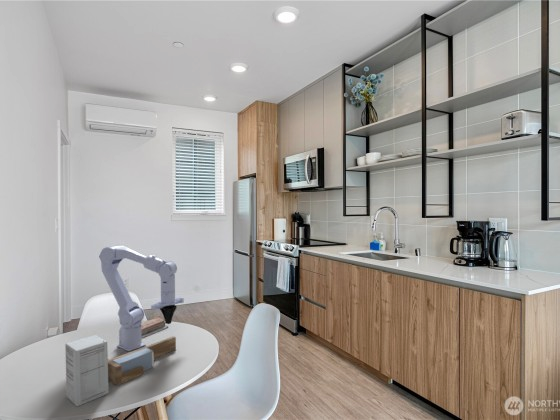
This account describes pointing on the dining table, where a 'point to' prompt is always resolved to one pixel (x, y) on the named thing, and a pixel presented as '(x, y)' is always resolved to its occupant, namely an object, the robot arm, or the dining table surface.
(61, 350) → the dining table surface
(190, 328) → the dining table surface
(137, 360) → the boxed book
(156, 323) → the reddish brown block
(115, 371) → the brown wooden rack
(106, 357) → the supplement box
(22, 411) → the dining table surface
